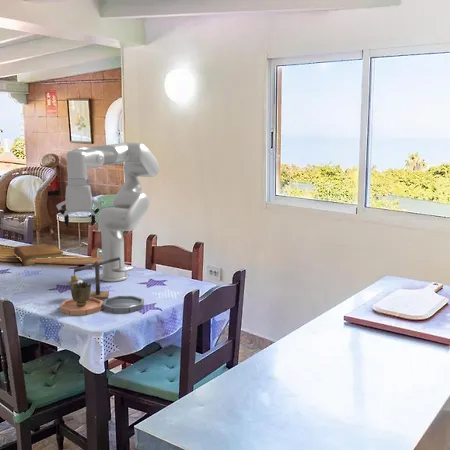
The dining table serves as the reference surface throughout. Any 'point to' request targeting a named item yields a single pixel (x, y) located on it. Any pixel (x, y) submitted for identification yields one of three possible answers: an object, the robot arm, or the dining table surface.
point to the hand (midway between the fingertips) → (80, 225)
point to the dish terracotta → (89, 308)
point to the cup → (80, 293)
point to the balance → (97, 278)
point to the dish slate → (123, 304)
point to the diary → (36, 252)
